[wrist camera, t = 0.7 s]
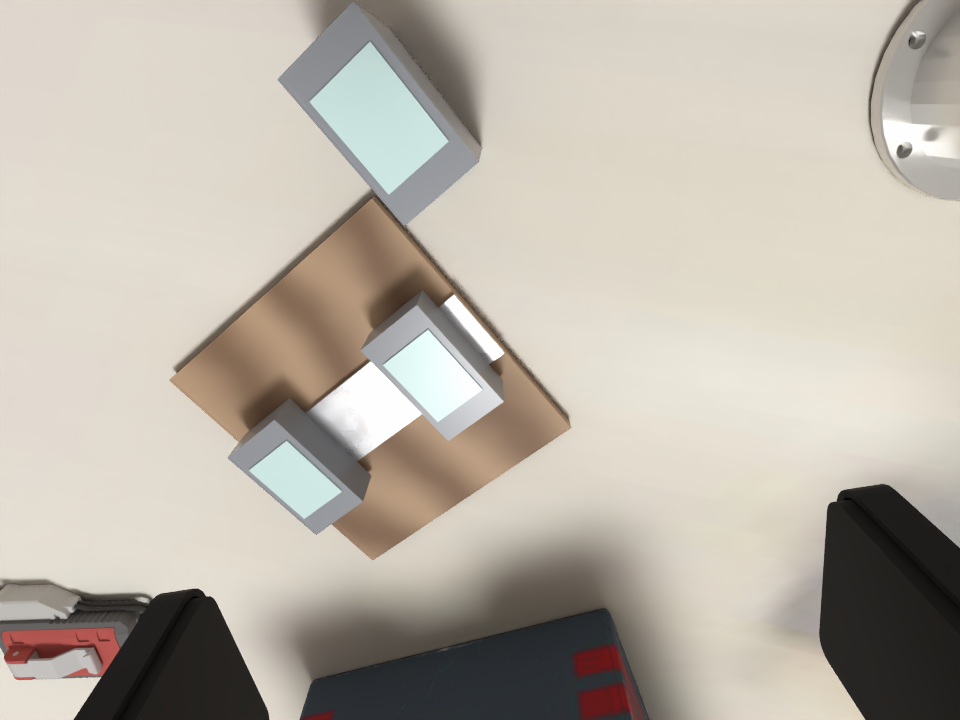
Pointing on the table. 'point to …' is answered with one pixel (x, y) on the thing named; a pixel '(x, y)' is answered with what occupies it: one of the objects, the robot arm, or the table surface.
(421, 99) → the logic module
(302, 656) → the table surface
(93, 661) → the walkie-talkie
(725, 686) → the table surface
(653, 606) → the table surface
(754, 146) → the table surface
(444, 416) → the board
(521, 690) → the power unit
